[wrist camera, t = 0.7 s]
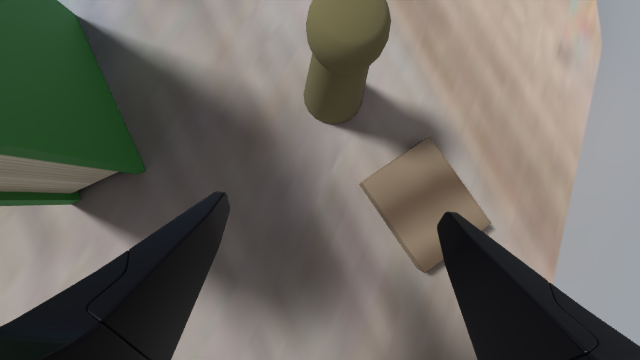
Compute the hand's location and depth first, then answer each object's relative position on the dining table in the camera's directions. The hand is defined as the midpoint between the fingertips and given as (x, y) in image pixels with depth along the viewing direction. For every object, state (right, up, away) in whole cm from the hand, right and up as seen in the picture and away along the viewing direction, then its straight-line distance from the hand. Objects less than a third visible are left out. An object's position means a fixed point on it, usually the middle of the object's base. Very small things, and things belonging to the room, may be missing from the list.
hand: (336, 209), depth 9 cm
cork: (+1, +10, +14) cm, 17 cm away
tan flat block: (+9, -1, +14) cm, 16 cm away
